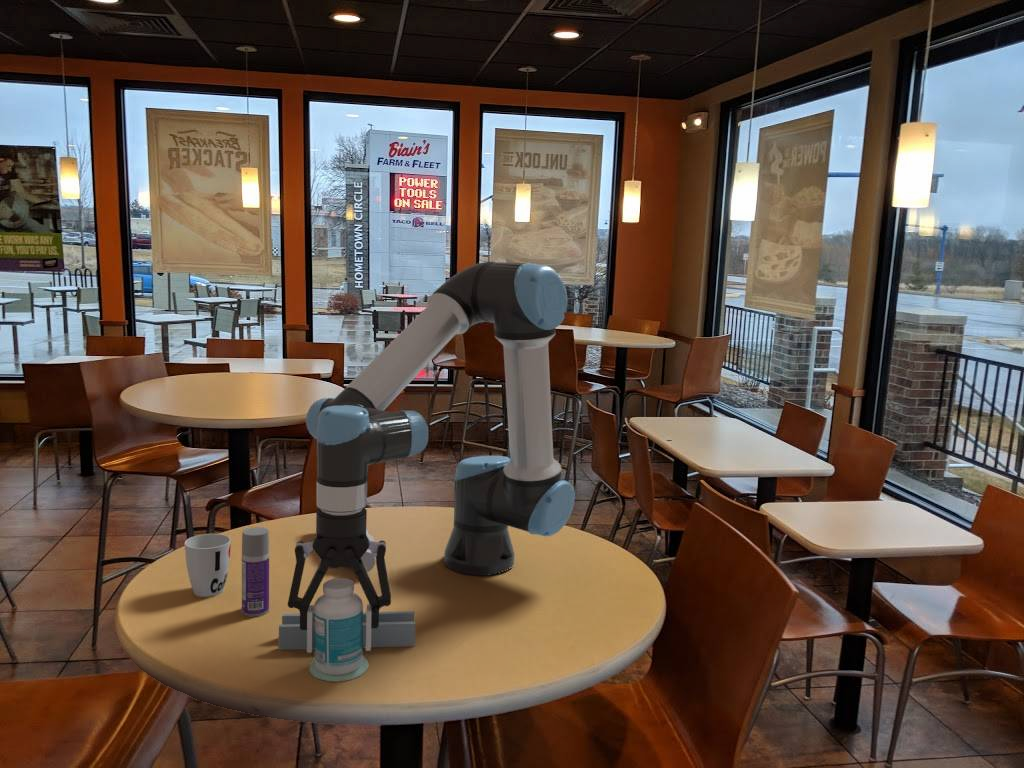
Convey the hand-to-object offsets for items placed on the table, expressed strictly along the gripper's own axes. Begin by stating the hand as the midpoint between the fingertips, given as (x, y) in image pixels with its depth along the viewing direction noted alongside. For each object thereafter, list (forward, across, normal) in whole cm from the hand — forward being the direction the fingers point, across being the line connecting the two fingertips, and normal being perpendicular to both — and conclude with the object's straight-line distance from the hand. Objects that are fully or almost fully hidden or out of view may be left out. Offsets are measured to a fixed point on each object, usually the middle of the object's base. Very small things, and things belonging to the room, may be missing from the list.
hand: (339, 647), depth 124 cm
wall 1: (+3, -1, -6) cm, 7 cm away
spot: (+3, 0, 0) cm, 3 cm away
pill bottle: (+3, 0, 0) cm, 3 cm away
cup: (+3, +26, -30) cm, 40 cm away
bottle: (+4, +1, -49) cm, 49 cm away
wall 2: (+3, -1, -10) cm, 11 cm away
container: (+3, +16, -21) cm, 27 cm away
